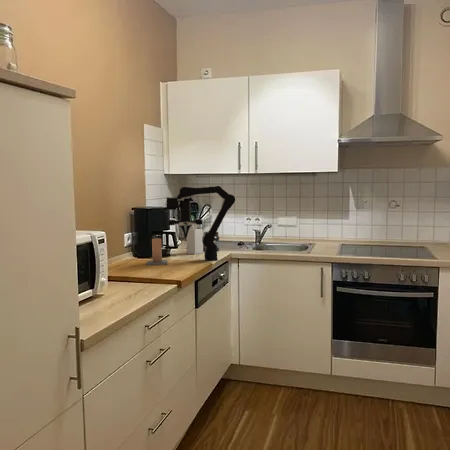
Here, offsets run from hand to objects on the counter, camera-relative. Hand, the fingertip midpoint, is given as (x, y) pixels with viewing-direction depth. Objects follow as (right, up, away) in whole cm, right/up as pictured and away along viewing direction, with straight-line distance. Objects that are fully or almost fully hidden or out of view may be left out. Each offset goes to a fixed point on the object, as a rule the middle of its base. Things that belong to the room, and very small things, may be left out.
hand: (185, 237), depth 260 cm
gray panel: (-15, -14, -6) cm, 21 cm away
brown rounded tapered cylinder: (-15, -13, -6) cm, 21 cm away
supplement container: (+13, -10, +41) cm, 44 cm away
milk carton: (+3, -11, +29) cm, 32 cm away
